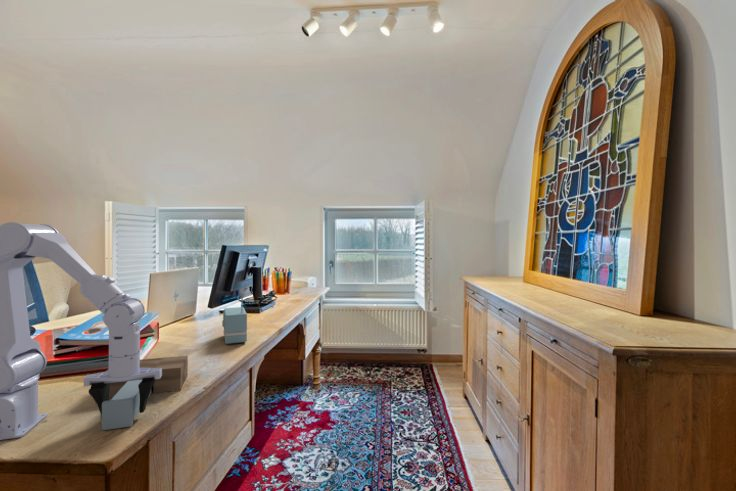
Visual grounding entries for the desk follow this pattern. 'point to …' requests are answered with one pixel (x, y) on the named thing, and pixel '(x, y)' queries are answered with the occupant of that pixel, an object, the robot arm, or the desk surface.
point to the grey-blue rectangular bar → (122, 407)
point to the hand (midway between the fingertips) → (124, 413)
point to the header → (171, 374)
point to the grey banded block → (235, 324)
